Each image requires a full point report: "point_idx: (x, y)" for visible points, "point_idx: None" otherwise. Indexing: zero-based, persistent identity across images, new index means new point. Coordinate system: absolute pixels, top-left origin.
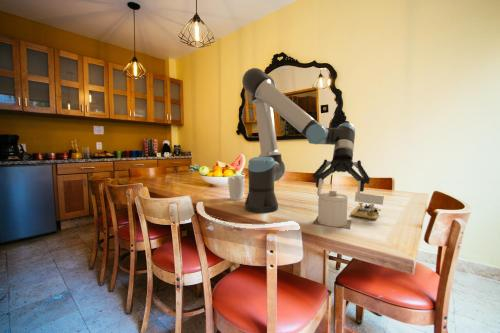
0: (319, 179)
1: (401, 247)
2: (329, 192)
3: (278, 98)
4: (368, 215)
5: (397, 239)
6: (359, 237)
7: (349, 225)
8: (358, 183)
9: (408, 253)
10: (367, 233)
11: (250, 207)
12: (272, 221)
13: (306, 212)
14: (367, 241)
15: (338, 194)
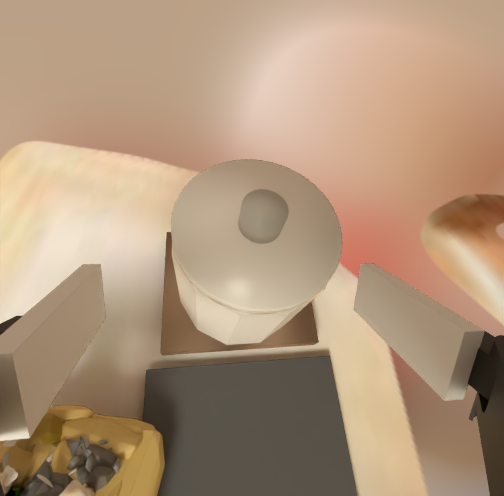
0: (470, 323)
1: (19, 185)
2: (283, 205)
3: None
4: (55, 416)
5: (2, 242)
6: (137, 213)
7: (168, 271)
8: (32, 326)
9: (15, 156)
10: (104, 258)
11: None
12: (427, 240)
13: (405, 443)
14: (116, 192)
15: (234, 276)
